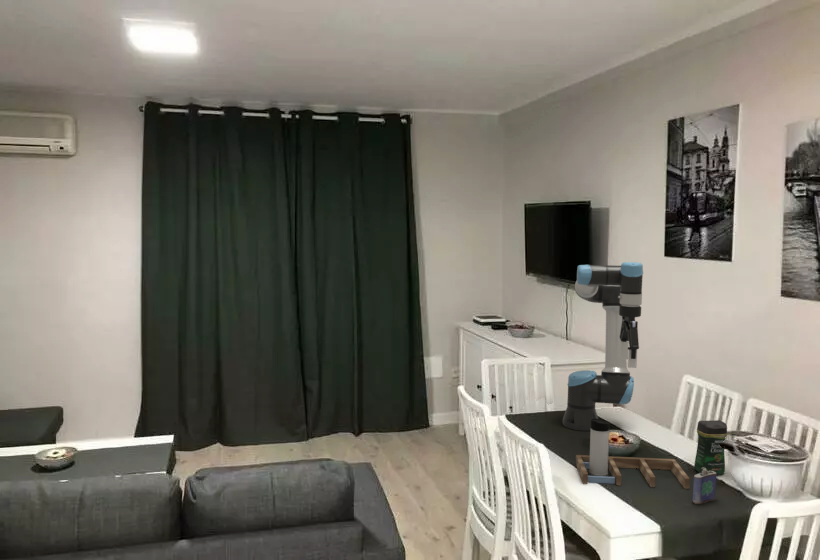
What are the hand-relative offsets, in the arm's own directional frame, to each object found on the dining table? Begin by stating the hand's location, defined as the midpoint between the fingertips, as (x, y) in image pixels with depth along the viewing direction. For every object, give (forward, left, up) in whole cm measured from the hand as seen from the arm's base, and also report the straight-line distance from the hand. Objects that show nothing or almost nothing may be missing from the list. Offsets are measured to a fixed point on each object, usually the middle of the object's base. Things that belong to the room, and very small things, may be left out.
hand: (628, 363), depth 242 cm
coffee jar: (+7, +28, -37) cm, 47 cm away
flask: (+32, +18, -37) cm, 52 cm away
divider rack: (+15, -1, -37) cm, 40 cm away
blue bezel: (+15, -12, -37) cm, 41 cm away
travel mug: (+15, -12, -37) cm, 42 cm away
